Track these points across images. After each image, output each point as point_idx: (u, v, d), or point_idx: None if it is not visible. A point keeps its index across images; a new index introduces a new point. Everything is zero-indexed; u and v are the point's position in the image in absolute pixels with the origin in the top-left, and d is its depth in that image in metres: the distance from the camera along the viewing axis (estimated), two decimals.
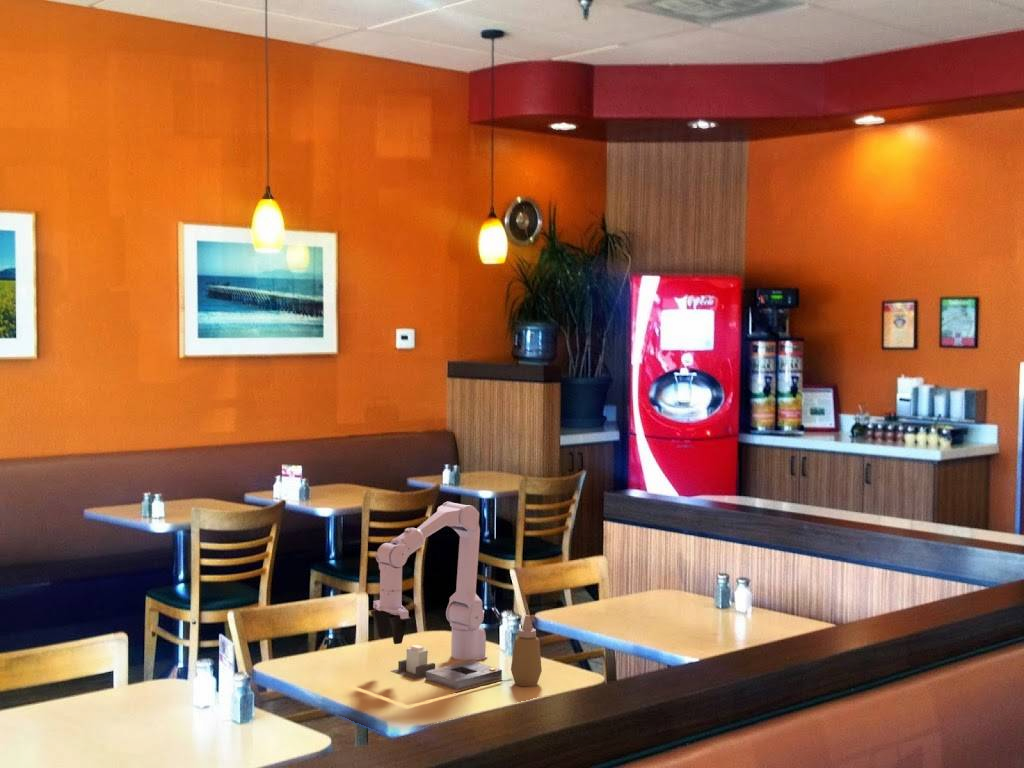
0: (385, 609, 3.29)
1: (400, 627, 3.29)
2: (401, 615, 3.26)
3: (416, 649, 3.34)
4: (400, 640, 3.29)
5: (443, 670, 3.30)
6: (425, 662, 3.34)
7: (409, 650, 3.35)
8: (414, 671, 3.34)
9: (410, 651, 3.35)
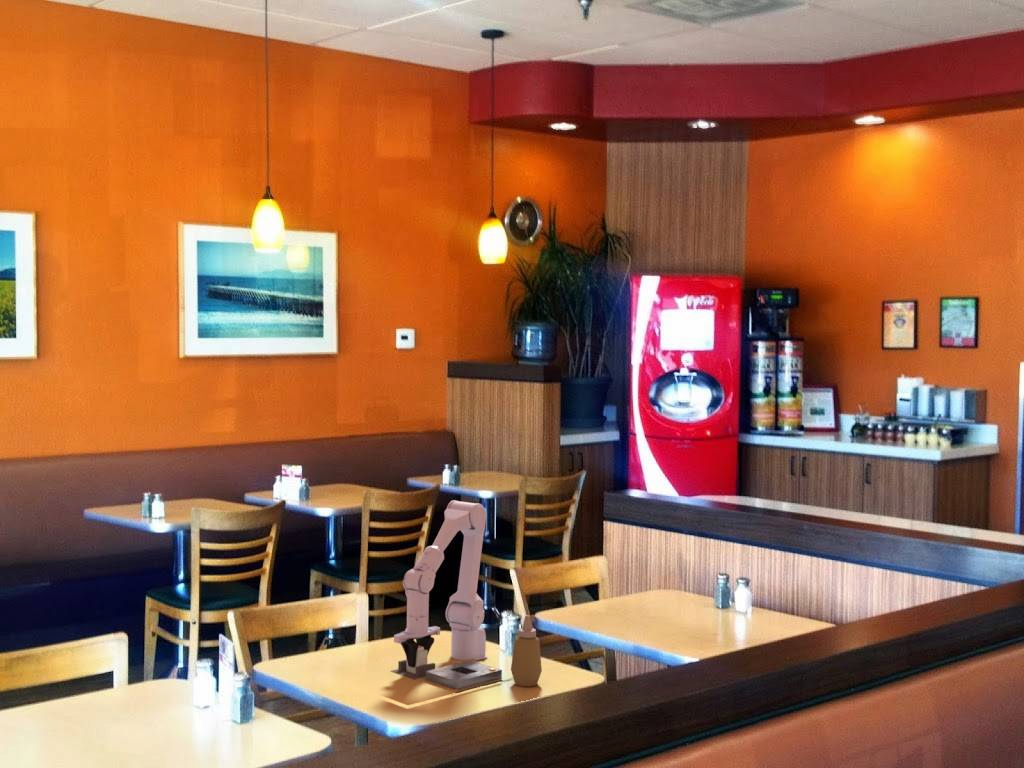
0: None
1: (411, 651, 3.34)
2: None
3: None
4: (411, 664, 3.34)
5: (443, 670, 3.30)
6: (425, 662, 3.34)
7: None
8: (414, 671, 3.34)
9: None
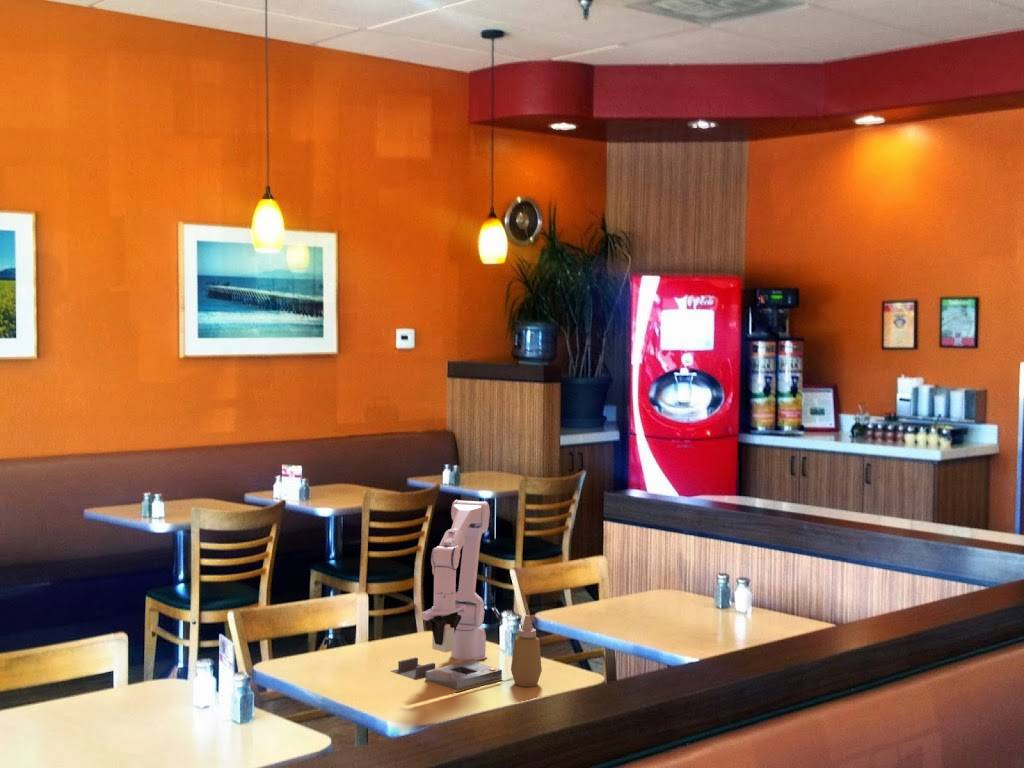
0: None
1: (438, 628, 3.30)
2: None
3: None
4: (438, 641, 3.30)
5: (443, 670, 3.30)
6: (452, 640, 3.31)
7: None
8: (441, 649, 3.31)
9: None
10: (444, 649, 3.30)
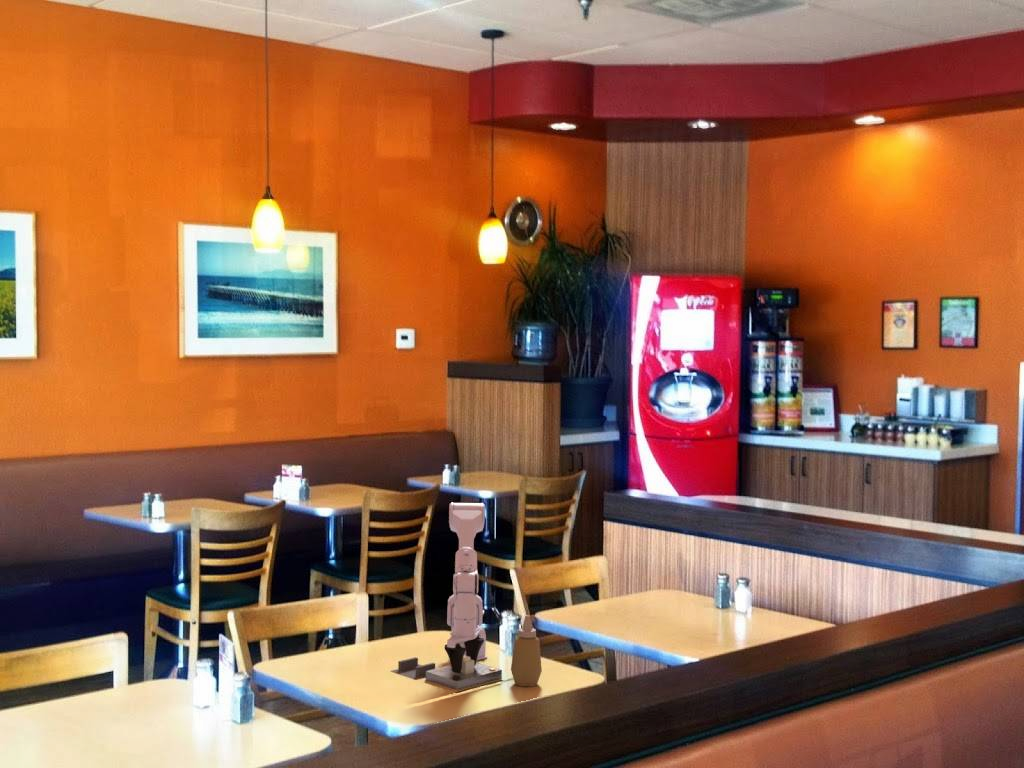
0: (452, 635, 3.29)
1: (457, 656, 3.26)
2: None
3: (463, 659, 3.29)
4: (457, 670, 3.26)
5: (443, 670, 3.30)
6: (472, 672, 3.29)
7: None
8: None
9: None
10: None
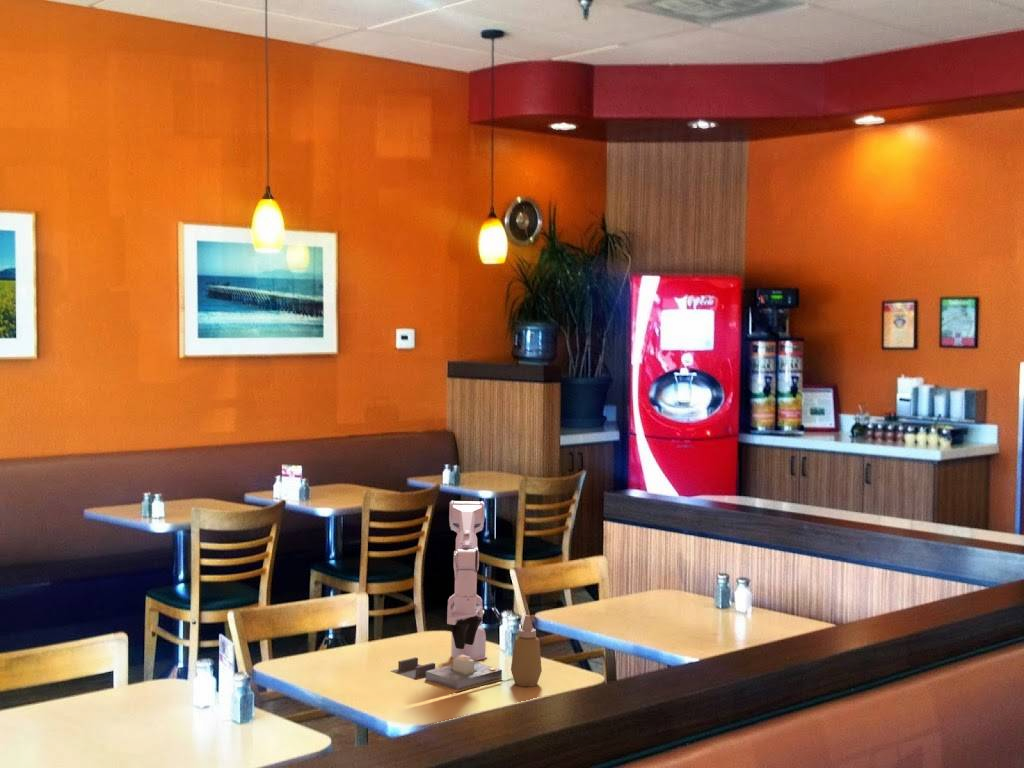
0: (453, 612, 3.29)
1: (460, 632, 3.27)
2: None
3: (463, 659, 3.29)
4: (460, 645, 3.27)
5: (443, 670, 3.30)
6: (472, 672, 3.29)
7: (455, 660, 3.30)
8: None
9: (456, 661, 3.30)
10: None
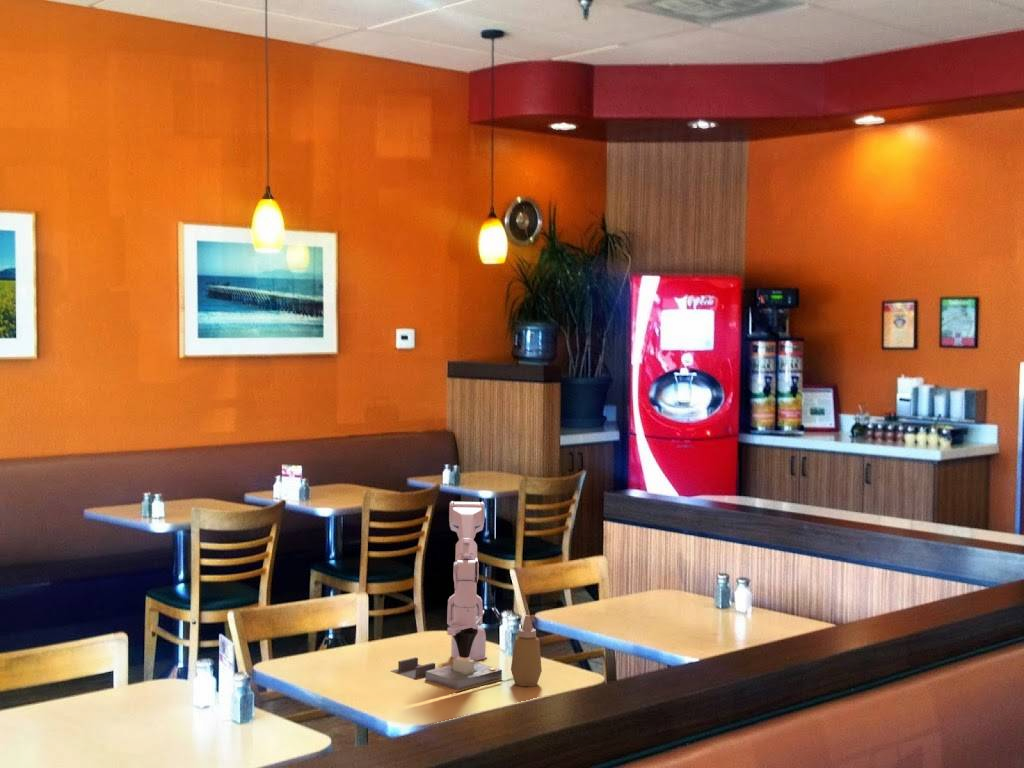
0: (453, 623, 3.29)
1: (464, 641, 3.29)
2: None
3: (463, 659, 3.29)
4: (464, 654, 3.29)
5: (443, 670, 3.30)
6: None
7: (455, 660, 3.30)
8: None
9: (456, 661, 3.30)
10: None
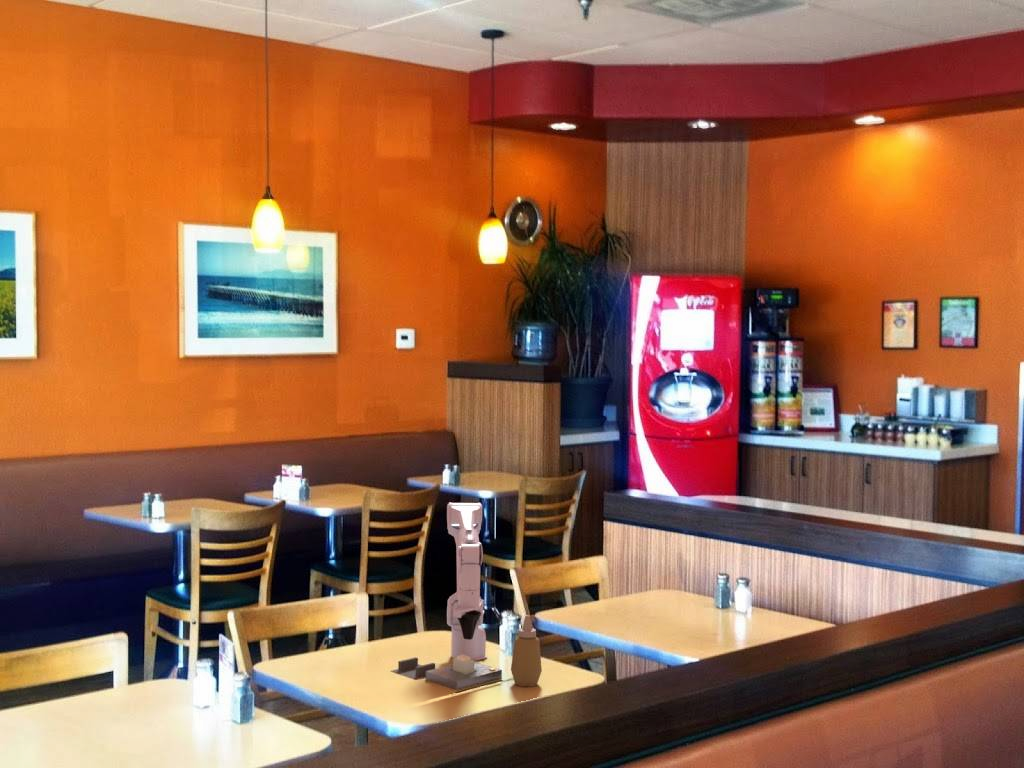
0: (457, 606, 3.36)
1: (468, 623, 3.36)
2: None
3: (463, 659, 3.29)
4: (468, 636, 3.36)
5: (443, 670, 3.30)
6: (472, 672, 3.29)
7: (455, 660, 3.30)
8: None
9: (456, 661, 3.30)
10: None
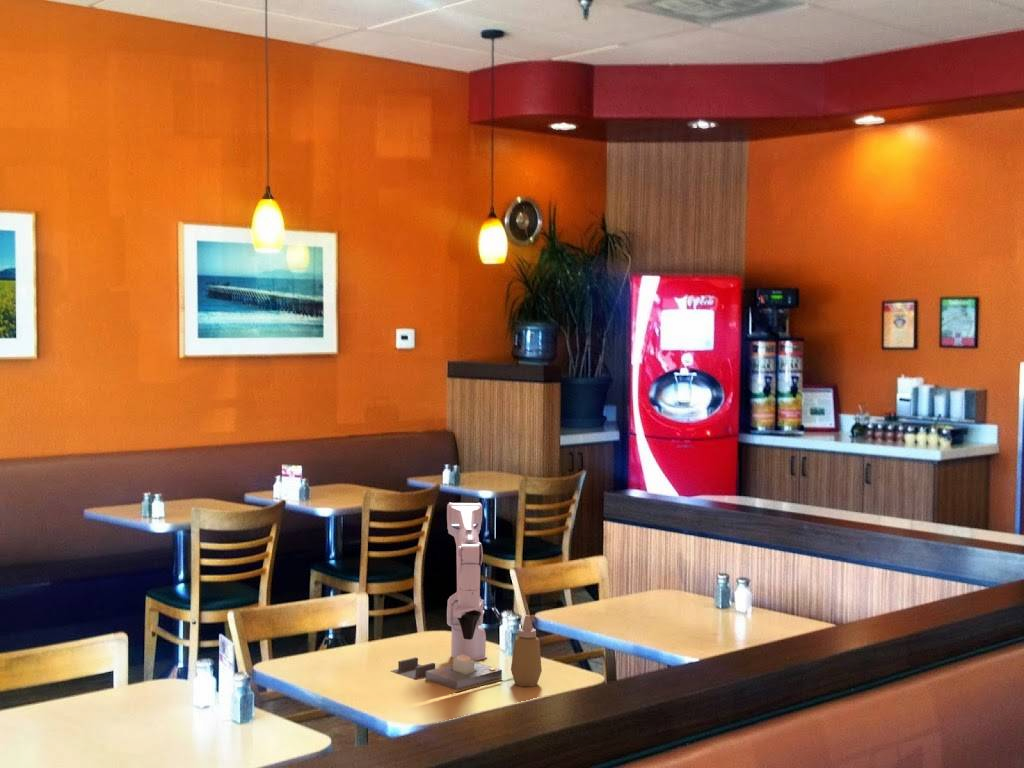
0: (457, 606, 3.36)
1: (468, 623, 3.36)
2: None
3: (463, 659, 3.29)
4: (468, 636, 3.36)
5: (443, 670, 3.30)
6: (472, 672, 3.29)
7: (455, 660, 3.30)
8: None
9: (456, 661, 3.29)
10: None
